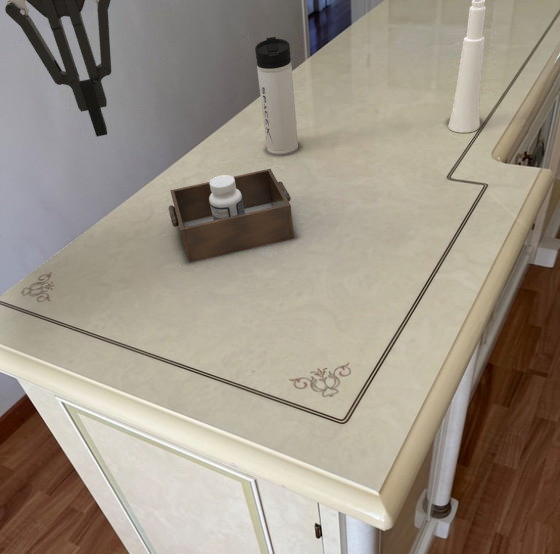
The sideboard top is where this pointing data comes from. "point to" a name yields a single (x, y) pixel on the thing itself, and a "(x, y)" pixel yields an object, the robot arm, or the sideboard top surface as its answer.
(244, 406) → the sideboard top surface
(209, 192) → the brown wooden open box
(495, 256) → the sideboard top surface
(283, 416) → the sideboard top surface
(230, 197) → the pill bottle
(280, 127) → the travel mug
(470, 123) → the cosmetic bottle
